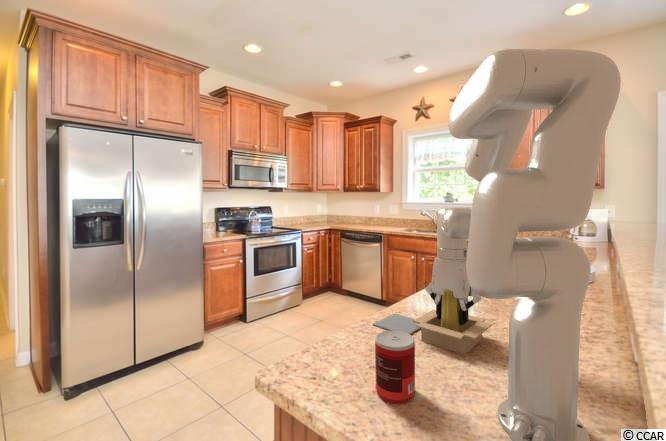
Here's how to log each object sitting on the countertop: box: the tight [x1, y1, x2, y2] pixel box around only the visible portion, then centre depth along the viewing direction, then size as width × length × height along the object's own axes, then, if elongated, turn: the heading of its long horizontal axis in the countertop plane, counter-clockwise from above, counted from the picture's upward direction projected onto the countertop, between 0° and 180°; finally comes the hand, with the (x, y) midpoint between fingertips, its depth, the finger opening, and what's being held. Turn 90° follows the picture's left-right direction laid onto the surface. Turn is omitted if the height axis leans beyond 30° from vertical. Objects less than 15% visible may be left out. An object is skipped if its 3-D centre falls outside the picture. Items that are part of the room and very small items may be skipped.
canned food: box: [374, 330, 416, 405], centre depth 63 cm, size 8×8×11 cm
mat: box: [372, 313, 421, 336], centre depth 97 cm, size 12×12×1 cm
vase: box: [441, 289, 463, 333], centre depth 85 cm, size 6×6×14 cm
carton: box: [413, 309, 493, 356], centre depth 85 cm, size 17×17×5 cm
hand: (451, 320), depth 85 cm, fingers closed on vase, 5 cm apart
